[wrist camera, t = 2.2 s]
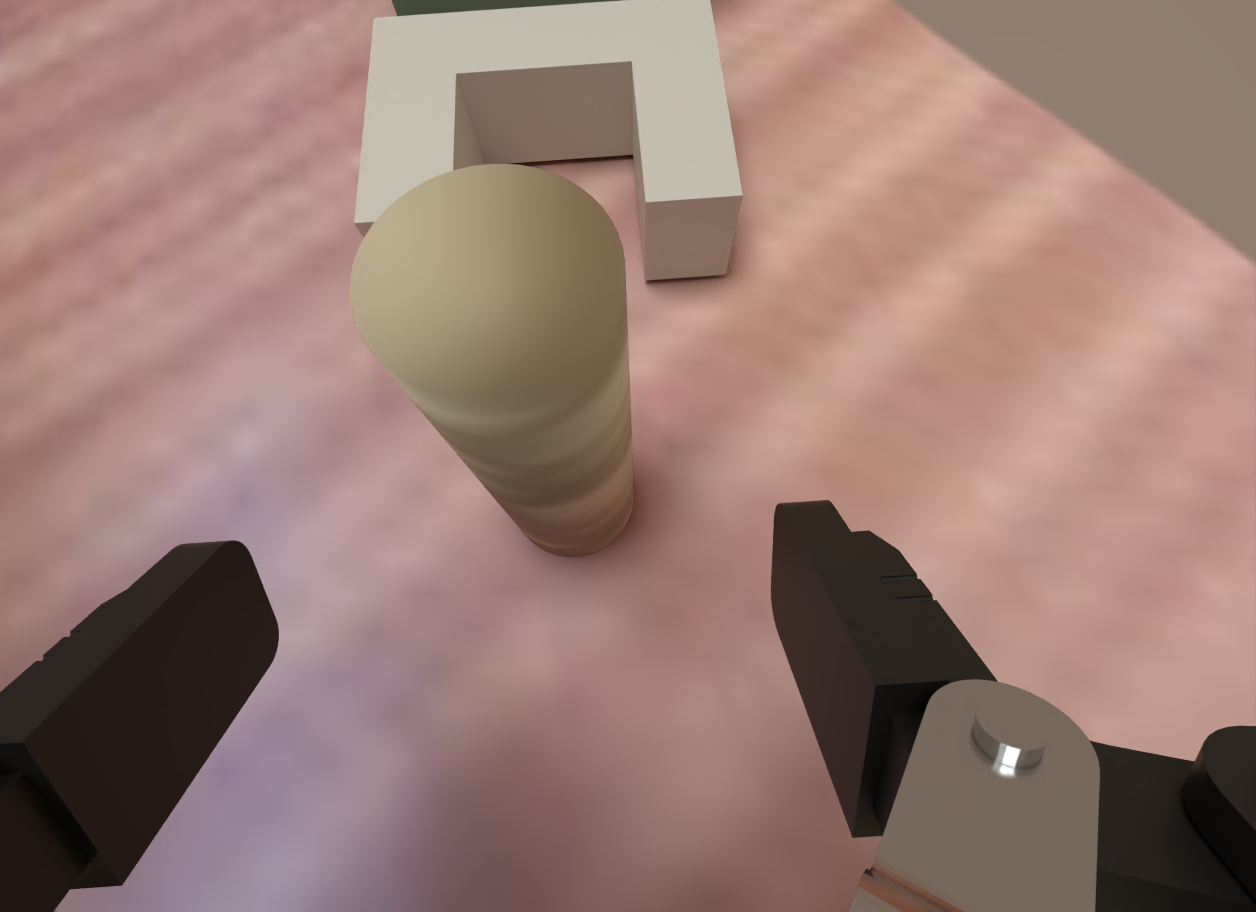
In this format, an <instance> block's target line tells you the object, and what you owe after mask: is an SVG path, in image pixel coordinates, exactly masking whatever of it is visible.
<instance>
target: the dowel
mask: <svg viewBox="0 0 1256 912" xmlns="http://www.w3.org/2000/svg"><path fill="white" fill-rule="evenodd" d="M350 304H351V311H352V315H353V318H354V321H355V324H356V327H357V329H358V331H359V333H360V335H361V337H362V339H363V341H364V343H365V344H366V345H367V347H368V348H369V350H370V351H371V352H372V354H373V355H374V356H375V357H376V358H377V360H378V361H379V362H380V363H381V364H382V366H383V367H384V368H385V369H386V370H387V371H388V373H389V374H390V375H391V376H392V377H393V379H394V380H395V381H396V382H397V383H398V385H399V386H400V387H401V388H402V389H403V390H404V392H405V393H406V394H407V395H408V396H409V398H410V399H411V400H412V401H413V402H414V404H415V405H416V406H417V407H418V408H419V409H420V411H421V412H422V413H423V414H424V415H425V417H426V418H427V419H428V420H429V421H430V422H431V424H432V425H433V426H434V427H435V428H436V430H437V431H438V432H439V433H440V434H441V436H442V437H443V438H444V439H445V440H446V441H447V443H448V444H449V445H450V446H451V447H452V449H453V450H454V451H455V452H456V453H457V455H458V456H459V457H460V458H461V459H462V460H463V462H464V463H465V464H466V465H467V466H468V468H469V469H470V470H471V471H472V472H473V473H474V475H475V476H476V477H477V478H478V479H479V481H480V482H481V483H482V484H483V485H484V487H485V488H486V489H487V490H488V491H489V492H490V494H491V495H492V496H493V497H494V498H495V500H496V501H497V502H498V503H499V504H500V505H501V507H502V508H503V509H504V510H505V511H506V513H507V514H508V515H509V516H510V517H511V519H512V520H513V521H514V522H515V523H516V524H517V526H518V527H519V528H520V529H521V530H522V532H523V533H524V534H525V535H526V536H527V537H528V538H529V539H530V540H531V541H532V542H533V543H534V544H535V545H537V546H538V547H540V548H542V549H543V550H545V551H548V552H550V553H553V554H557V555H562V556H581V555H586V554H590V553H593V552H595V551H598V550H600V549H602V548H603V547H605V546H607V545H608V544H609V543H611V542H612V541H613V540H614V539H615V538H616V537H617V536H618V535H619V534H620V533H621V532H622V530H623V529H624V528H625V526H626V524H627V522H628V520H629V518H630V516H631V512H632V509H633V503H634V480H633V454H632V429H631V403H630V378H629V352H628V326H627V301H626V275H625V259H624V253H623V247H622V244H621V241H620V238H619V235H618V232H617V230H616V228H615V226H614V224H613V222H612V220H611V219H610V217H609V216H608V214H607V213H606V212H605V210H604V209H603V208H602V206H601V205H600V204H599V203H598V202H597V201H596V200H595V199H594V198H593V197H592V196H591V195H589V194H588V193H587V192H586V191H584V190H583V189H582V188H581V187H579V186H577V185H576V184H574V183H572V182H571V181H569V180H567V179H565V178H563V177H561V176H559V175H556V174H554V173H551V172H548V171H545V170H542V169H539V168H534V167H529V166H524V165H515V164H484V165H476V166H469V167H465V168H461V169H456V170H453V171H450V172H447V173H444V174H441V175H438V176H436V177H434V178H432V179H429V180H427V181H425V182H423V183H421V184H420V185H418V186H416V187H414V188H413V189H411V190H409V191H408V192H407V193H405V194H404V195H402V196H401V197H400V198H398V199H397V200H396V201H395V202H394V203H392V204H391V205H390V206H389V207H388V208H387V209H386V210H385V211H384V212H383V213H382V214H381V215H380V216H379V218H378V219H377V220H376V221H375V222H374V224H373V225H372V226H371V228H370V229H369V231H368V232H367V234H366V235H365V237H364V239H363V241H362V243H361V245H360V247H359V249H358V251H357V254H356V257H355V260H354V263H353V266H352V272H351V278H350Z"/></svg>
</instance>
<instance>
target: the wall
mask: <svg viewBox="0 0 1256 912" xmlns="http://www.w3.org/2000/svg"><path fill="white" fill-rule="evenodd" d="M608 1H622V0H392V3H393V5H394V8H395V11H396V13H397V16H408V15H422V14H437V13H451V12H465V11H480V10H494V9H508V8H522V7H537V6H551V5H565V4H579V3H594V2H608Z"/></svg>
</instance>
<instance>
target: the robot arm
mask: <svg viewBox="0 0 1256 912" xmlns="http://www.w3.org/2000/svg"><path fill="white" fill-rule="evenodd" d="M771 601H772V610H773V616H774V621H775V625H776V628H777V631H778V634H779V637H780V640H781V642H782V645H783V648H784V651H785V653H786V656H787V659H788V662H789V664H790V667H791V670H792V673H793V675H794V678H795V681H796V684H797V686H798V689H799V692H800V695H801V697H802V700H803V703H804V706H805V708H806V711H807V714H808V717H809V719H810V722H811V725H812V728H813V730H814V733H815V736H816V739H817V741H818V744H819V747H820V749H821V752H822V755H823V758H824V760H825V763H826V766H827V769H828V771H829V774H830V777H831V780H832V782H833V785H834V788H835V791H836V793H837V796H838V799H839V802H840V804H841V807H842V810H843V813H844V815H845V818H846V821H847V824H848V826H849V829H850V832H851V835H852V837H853V838H856V837H870V836H883V837H882V840H881V843H880V846H879V849H878V852H877V854H876V857H875V860H874V863H873V865H872V867H871V869H870V870H868V869H866V870H865V872H864V873H863V875H862V877H861V880H860V882H859V884H858V887H857V889H856V892H855V894H854V897H853V900H852V903H851V905H850V908H849V911H848V912H1256V726H1232V727H1226V728H1223V729H1219V730H1217V731H1215V732H1213V733H1212V734H1210V735H1209V736H1208V737H1207V739H1206V740H1205V741H1204V743H1203V745H1202V747H1201V749H1200V751H1199V753H1198V756H1197V758H1196V760H1195V762H1194V761H1188V760H1183V759H1178V758H1173V757H1167V756H1162V755H1157V754H1152V753H1147V752H1141V751H1136V750H1131V749H1126V748H1120V747H1115V746H1110V745H1106V744H1101V743H1097V742H1093V741H1090V740H1089V739H1088V738H1087V737H1086V735H1085V734H1084V733H1083V731H1082V730H1081V729H1080V728H1079V727H1078V726H1077V725H1076V724H1075V723H1074V722H1073V721H1072V720H1071V719H1070V718H1069V717H1068V716H1067V715H1065V714H1064V713H1063V712H1062V711H1060V710H1059V709H1058V708H1056V707H1055V706H1053V705H1052V704H1050V703H1048V702H1047V701H1045V700H1044V699H1042V698H1040V697H1038V696H1036V695H1034V694H1032V693H1030V692H1027V691H1025V690H1023V689H1020V688H1018V687H1014V686H1011V685H1008V684H1005V683H1000V682H998V681H997V680H996V678H995V677H994V676H993V674H992V673H991V672H990V670H989V669H988V668H987V666H986V665H985V664H984V662H983V661H982V660H981V658H980V657H979V656H978V654H977V653H976V652H975V651H974V649H973V648H972V647H971V645H970V644H969V643H968V641H967V640H966V639H965V637H964V636H963V635H962V633H961V632H960V631H959V629H958V628H957V627H956V625H955V624H954V623H953V621H952V620H951V619H950V617H949V616H948V615H947V613H946V612H945V611H944V609H943V608H942V607H941V605H940V604H939V603H938V602H937V600H933V598H932V594H931V592H930V591H929V590H928V588H927V587H926V586H925V584H924V583H923V582H922V580H921V579H917V574H916V572H915V571H914V570H913V568H912V567H911V566H910V564H909V563H908V562H907V560H906V559H905V558H904V557H903V555H902V554H901V553H900V551H899V550H898V549H896V548H895V547H893V546H892V545H890V544H889V543H887V542H886V541H884V540H883V539H881V538H879V537H878V536H876V535H875V534H873V533H872V532H870V531H857V532H851V531H850V529H849V528H848V526H847V525H846V523H845V522H844V520H843V519H842V517H841V516H840V514H839V513H838V511H837V510H836V508H835V507H834V505H833V504H832V503H831V502H830V501H829V500H821V501H807V502H793V503H779V504H778V505H777V506H776V509H775V514H774V531H773V553H772V574H771ZM70 633H71V634H70V637H63V638H62V639H61V640H60V641H59V642H58V643H57V644H55V645H54V646H53V647H52V648H51V649H50V650H48V651H47V652H46V653H45V654H44V655H43V656H44V658H43V660H42V661H36V662H35V663H33V664H32V665H31V666H30V667H29V668H28V669H27V670H25V671H24V672H23V673H22V674H21V675H20V676H19V677H17V678H16V679H15V680H14V681H13V682H12V683H10V684H9V685H8V686H7V687H6V688H5V689H4V690H2V691H1V692H0V912H57V911H56V910H55V909H56V907H57V906H58V905H59V903H60V902H61V901H62V899H63V898H64V897H65V895H66V894H67V893H68V891H69V890H70V889H80V888H94V887H109V886H122V885H123V883H124V882H125V880H126V879H127V877H128V876H129V874H130V873H131V871H132V870H133V869H134V867H135V866H136V864H137V863H138V861H139V860H140V858H141V857H142V855H143V854H144V852H145V851H146V849H147V848H148V846H149V845H150V843H151V842H152V840H153V839H154V837H155V836H156V834H157V833H158V831H159V830H160V828H161V827H162V825H163V824H164V823H165V821H166V820H167V818H168V817H169V815H170V814H171V812H172V811H173V809H174V808H175V806H176V805H177V803H178V802H179V800H180V799H181V797H182V796H183V794H184V793H185V791H186V790H187V788H188V787H189V785H190V784H191V782H192V781H193V779H194V778H195V776H196V775H197V774H198V772H199V771H200V769H201V768H202V766H203V765H204V763H205V762H206V760H207V759H208V757H209V756H210V754H211V753H212V751H213V750H214V748H215V747H216V745H217V744H218V742H219V741H220V739H221V738H222V736H223V735H224V733H225V732H226V730H227V729H228V727H229V726H230V725H231V723H232V722H233V720H234V719H235V717H236V716H237V714H238V713H239V711H240V710H241V708H242V707H243V705H244V704H245V702H246V701H247V699H248V698H249V696H250V695H251V693H252V692H253V690H254V689H255V687H256V686H257V684H258V683H259V681H260V680H261V679H262V677H263V676H264V674H265V673H266V671H267V670H268V668H269V667H270V665H271V663H272V662H273V660H274V657H275V655H276V651H277V647H278V640H279V630H278V624H277V620H276V617H275V615H274V612H273V610H272V607H271V605H270V602H269V600H268V597H267V595H266V592H265V590H264V587H263V584H262V582H261V579H260V577H259V574H258V572H257V569H256V567H255V564H254V562H253V559H252V557H251V554H250V552H249V550H248V549H247V548H246V546H245V545H244V544H242V543H241V542H238V541H218V542H204V543H189V544H181V545H179V546H176V547H175V548H173V549H172V550H171V551H170V552H169V553H168V554H166V555H165V556H164V557H163V558H162V559H161V560H160V561H158V562H157V563H156V564H155V565H154V566H153V567H152V568H151V569H149V570H148V571H147V572H146V573H145V574H144V575H143V576H141V577H140V578H139V579H138V580H137V581H136V582H135V583H134V584H132V585H131V586H130V587H129V588H128V589H127V590H125V591H123V592H122V593H120V594H118V595H116V596H115V597H113V598H111V599H110V600H108V601H106V602H105V603H103V604H101V605H100V606H99V607H98V608H97V609H96V610H94V611H93V612H92V613H91V614H90V615H89V616H88V617H86V618H85V619H84V620H83V621H82V622H81V623H80V624H78V625H77V626H76V627H75V628H74V629H73V630H71V631H70Z"/></svg>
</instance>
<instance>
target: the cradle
mask: <svg viewBox="0 0 1256 912" xmlns="http://www.w3.org/2000/svg"><path fill="white" fill-rule="evenodd" d="M620 155H633V159H634V169H635V180H636V191H637V201H638V212H639V222H640V233H641V244H642V254H643V265H644V275H645V280H658V279H672V278H685V277H699V276H713V275H726V271H727V266H728V262H729V257H730V252H731V248H732V243H733V238H734V234H735V229H736V224H737V219H738V215H739V210H740V205H741V201H742V196H743V195H742V189H741V183H740V177H739V171H738V165H737V159H736V152H735V146H734V140H733V134H732V128H731V122H730V116H729V110H728V104H727V98H726V92H725V86H724V80H723V74H722V68H721V62H720V56H719V50H718V44H717V38H716V32H715V26H714V20H713V14H712V8H711V2H710V0H622V1H608V2H594V3H579V4H565V5H551V6H537V7H522V8H508V9H494V10H480V11H465V12H451V13H437V14H422V15H408V16H394V17H380V18H374V23H373V33H372V44H371V54H370V64H369V75H368V85H367V96H366V106H365V116H364V127H363V137H362V148H361V158H360V168H359V179H358V189H357V199H356V210H355V220H354V224H355V225H356V227H357V228H358V230H359V231H360V233H361V235H362V236H363V238H364V237H365V235H366V234H367V232H368V231H369V229H370V228H371V226H372V225H373V224H374V222H375V221H376V220H377V219H378V218H379V216H380V215H381V214H382V213H383V212H384V211H385V210H386V209H387V208H388V207H389V206H390V205H391V204H392V203H394V202H395V201H396V200H397V199H398V198H400V197H401V196H402V195H404V194H405V193H407V192H408V191H409V190H411V189H413V188H414V187H416V186H418V185H420V184H421V183H423V182H425V181H427V180H429V179H432V178H434V177H436V176H438V175H441V174H444V173H447V172H450V171H453V170H456V169H461V168H465V167H469V166H476V165H484V164H507V163H521V162H535V161H549V160H563V159H577V158H591V157H605V156H620Z"/></svg>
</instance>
